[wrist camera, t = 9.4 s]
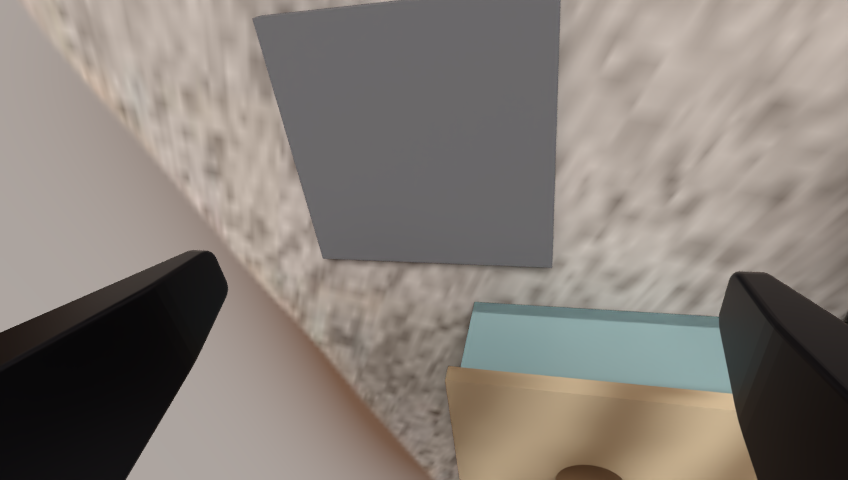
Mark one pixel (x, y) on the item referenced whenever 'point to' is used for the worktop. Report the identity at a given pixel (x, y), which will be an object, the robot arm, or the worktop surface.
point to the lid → (590, 429)
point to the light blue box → (598, 345)
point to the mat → (422, 126)
